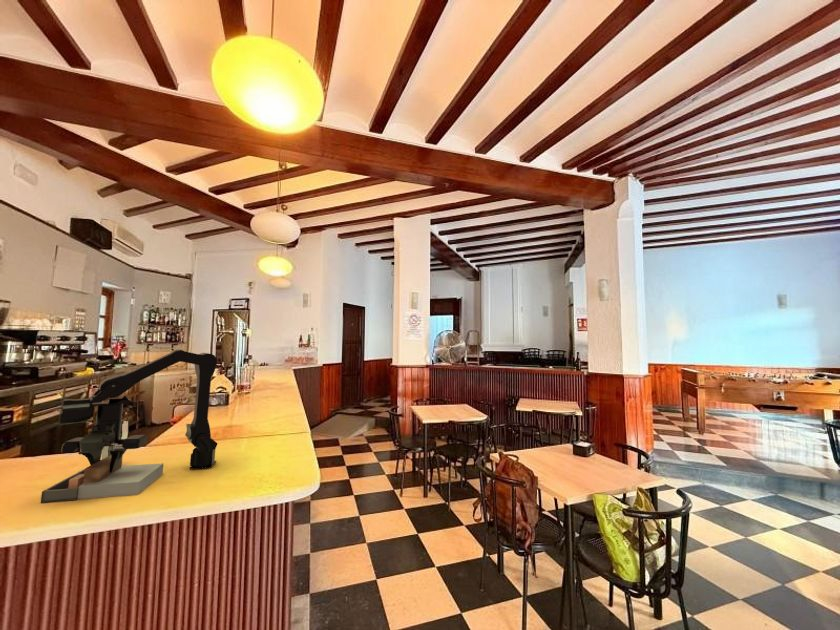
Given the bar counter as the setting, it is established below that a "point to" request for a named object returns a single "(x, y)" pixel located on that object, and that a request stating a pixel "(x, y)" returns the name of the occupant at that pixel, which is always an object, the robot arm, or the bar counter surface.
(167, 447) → the bar counter surface
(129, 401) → the robot arm
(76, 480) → the tile
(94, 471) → the brown wooden plank
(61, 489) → the tray
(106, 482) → the board
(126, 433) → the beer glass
